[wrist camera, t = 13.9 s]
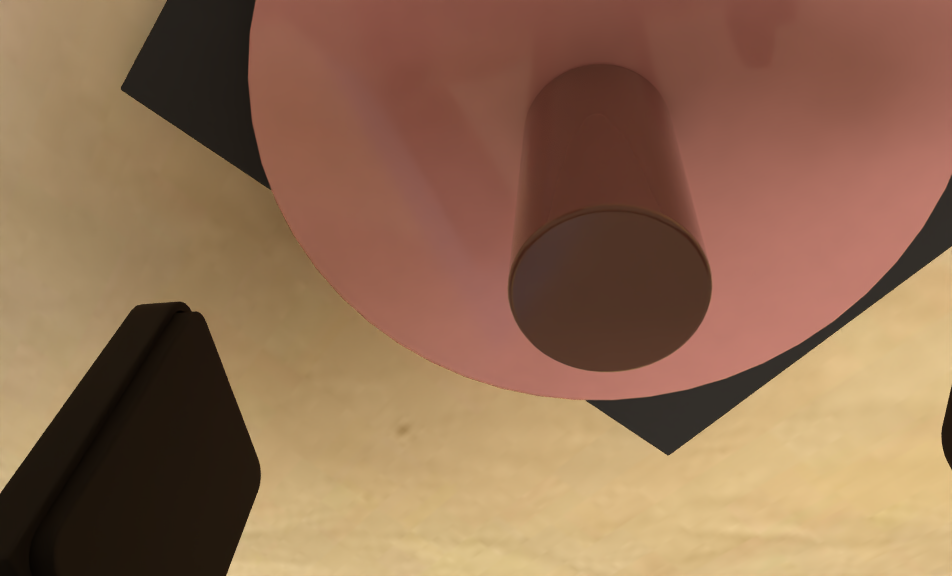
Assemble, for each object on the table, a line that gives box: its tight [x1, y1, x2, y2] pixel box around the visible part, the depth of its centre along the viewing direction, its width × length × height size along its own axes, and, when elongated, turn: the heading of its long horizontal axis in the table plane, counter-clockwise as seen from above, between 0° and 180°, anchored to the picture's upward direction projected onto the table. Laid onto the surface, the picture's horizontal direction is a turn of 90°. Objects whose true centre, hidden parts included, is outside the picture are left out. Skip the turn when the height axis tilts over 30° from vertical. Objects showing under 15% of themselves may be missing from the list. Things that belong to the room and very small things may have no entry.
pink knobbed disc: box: [248, 0, 952, 400], centre depth 14 cm, size 14×14×7 cm
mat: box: [121, 0, 952, 455], centre depth 17 cm, size 16×12×1 cm
